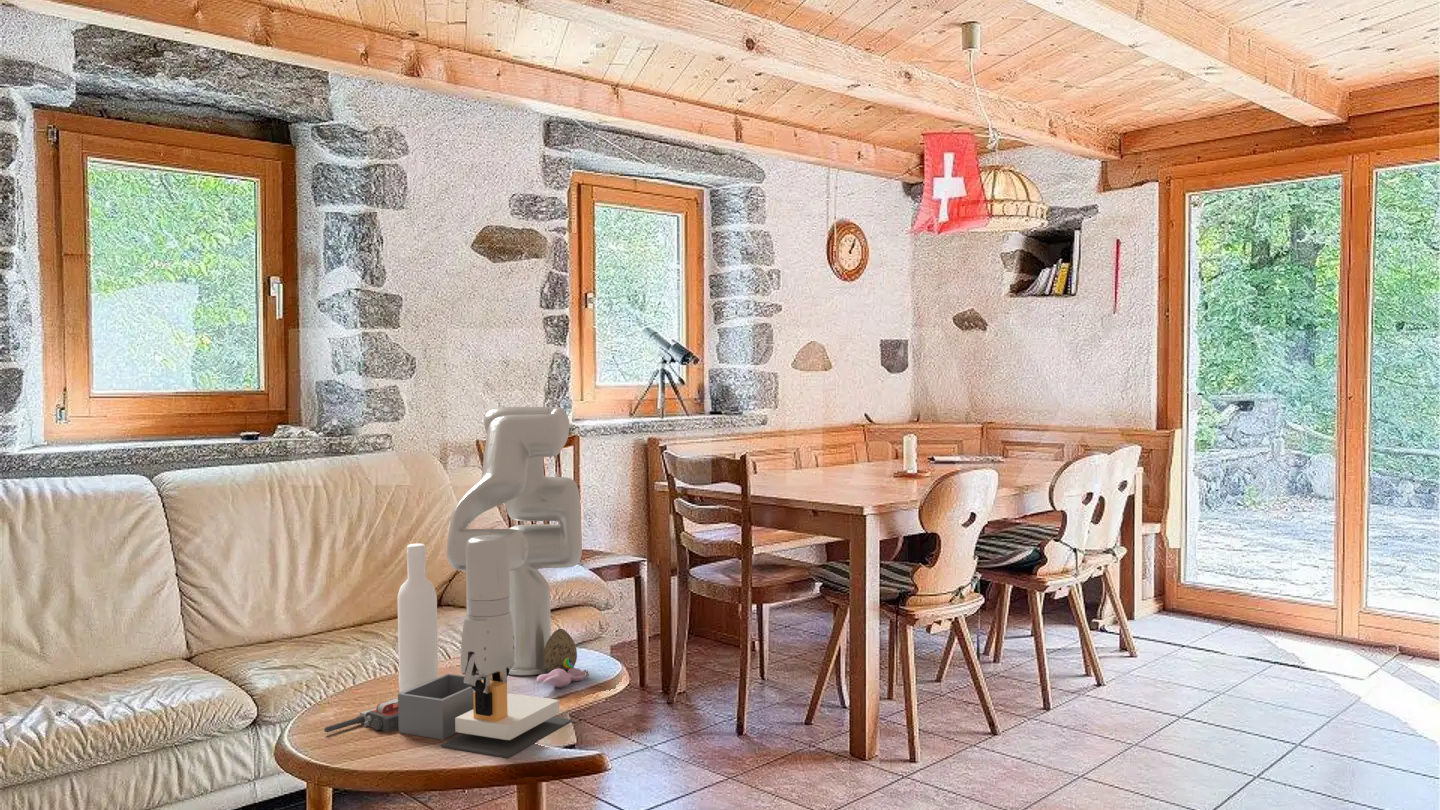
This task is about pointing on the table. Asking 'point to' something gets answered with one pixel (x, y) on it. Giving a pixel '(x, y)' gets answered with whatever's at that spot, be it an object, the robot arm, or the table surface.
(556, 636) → the decorative egg
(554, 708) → the lid
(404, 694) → the tub
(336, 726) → the walkie-talkie
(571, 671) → the rabbit figure
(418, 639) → the bottle
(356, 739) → the table surface
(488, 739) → the mat
